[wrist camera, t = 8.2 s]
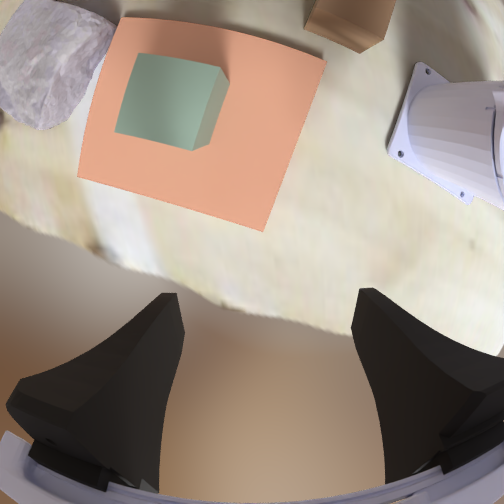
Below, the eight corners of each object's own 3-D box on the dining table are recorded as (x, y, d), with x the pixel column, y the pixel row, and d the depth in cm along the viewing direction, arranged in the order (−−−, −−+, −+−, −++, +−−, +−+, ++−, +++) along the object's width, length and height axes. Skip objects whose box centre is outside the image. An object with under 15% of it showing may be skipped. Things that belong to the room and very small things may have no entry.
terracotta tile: (324, 64, 14) (327, 61, 14) (262, 227, 19) (262, 231, 18) (126, 20, 12) (121, 17, 12) (82, 174, 17) (77, 176, 17)
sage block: (230, 83, 14) (220, 67, 10) (209, 144, 16) (191, 151, 11) (169, 70, 14) (138, 52, 9) (150, 128, 15) (114, 132, 11)
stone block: (80, 132, 18) (133, 19, 12) (38, 149, 14) (91, 10, 9) (12, 86, 15) (49, -6, 10) (-24, 97, 11) (11, -8, 6)
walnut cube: (373, 13, 12) (397, -6, 9) (359, 54, 14) (383, 39, 10) (320, -11, 12) (334, -36, 8) (303, 29, 13) (315, 7, 10)
